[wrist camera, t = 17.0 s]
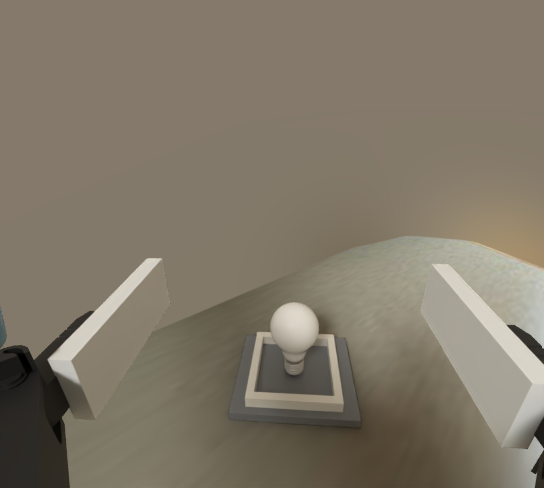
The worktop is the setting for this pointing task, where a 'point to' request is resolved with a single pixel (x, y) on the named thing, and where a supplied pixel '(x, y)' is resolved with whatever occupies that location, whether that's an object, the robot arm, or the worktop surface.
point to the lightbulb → (294, 333)
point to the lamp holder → (295, 385)
